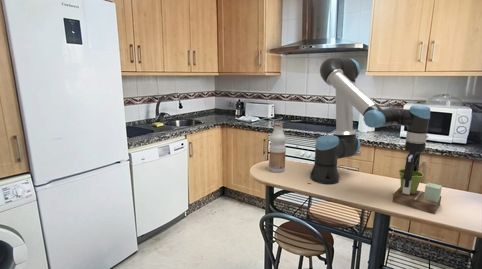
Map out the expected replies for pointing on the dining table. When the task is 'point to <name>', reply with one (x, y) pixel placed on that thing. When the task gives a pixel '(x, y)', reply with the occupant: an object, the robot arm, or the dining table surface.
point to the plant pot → (415, 180)
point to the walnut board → (416, 201)
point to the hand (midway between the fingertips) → (408, 190)
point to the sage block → (432, 192)
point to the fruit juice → (277, 149)
